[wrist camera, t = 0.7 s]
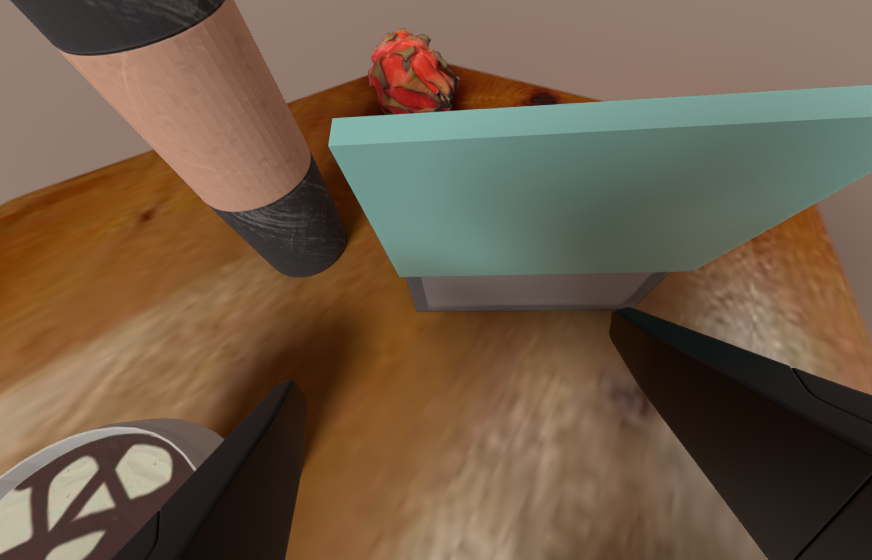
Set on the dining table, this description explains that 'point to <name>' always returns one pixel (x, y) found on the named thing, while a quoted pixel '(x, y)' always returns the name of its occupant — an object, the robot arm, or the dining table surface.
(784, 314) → the dining table surface
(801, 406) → the robot arm
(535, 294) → the grey rectangular box
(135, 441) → the food container
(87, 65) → the travel mug
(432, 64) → the dragon fruit
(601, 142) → the mint green lid
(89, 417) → the dining table surface
